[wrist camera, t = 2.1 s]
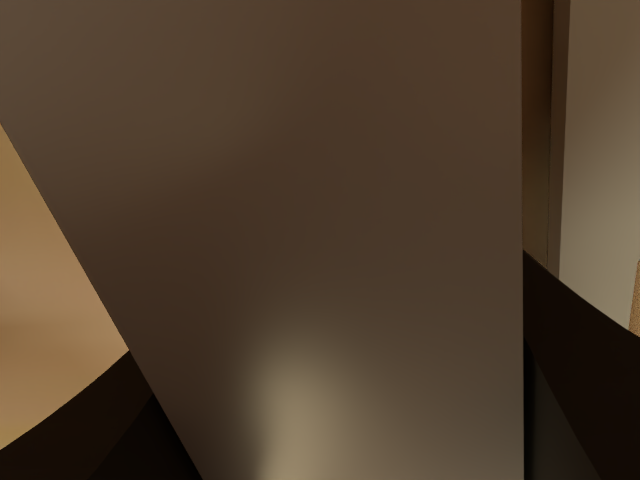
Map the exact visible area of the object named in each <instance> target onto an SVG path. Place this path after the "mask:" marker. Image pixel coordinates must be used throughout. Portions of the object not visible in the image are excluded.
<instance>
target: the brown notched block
mask: <svg viewBox="0 0 640 480" xmlns="http://www.w3.org/2000/svg"><path fill="white" fill-rule="evenodd" d="M0 123H1V125H2V127H3V129H4V130H5V132H6V134H7V136H8V137H9V139H10V141H11V143H12V144H13V146H14V148H15V150H16V152H17V153H18V155H19V157H20V159H21V160H22V162H23V164H24V166H25V167H26V169H27V171H28V173H29V174H30V176H31V178H32V180H33V181H34V183H35V185H36V187H37V188H38V190H39V192H40V194H41V196H42V197H43V199H44V201H45V203H46V204H47V206H48V208H49V210H50V211H51V213H52V215H53V217H54V218H55V220H56V222H57V224H58V225H59V227H60V229H61V231H62V232H63V234H64V236H65V238H66V240H67V241H68V243H69V245H70V247H71V248H72V250H73V252H74V254H75V255H76V257H77V259H78V261H79V262H80V264H81V266H82V268H83V269H84V271H85V273H86V275H87V277H88V278H89V280H90V282H91V284H92V285H93V287H94V289H95V291H96V292H97V294H98V296H99V298H100V299H101V301H102V303H103V305H104V306H105V308H106V310H107V312H108V313H109V315H110V317H111V319H112V321H113V322H114V324H115V326H116V328H117V329H118V331H119V333H120V335H121V336H122V338H123V340H124V342H125V343H126V345H127V347H128V349H129V350H130V352H131V354H132V356H133V358H134V359H135V361H136V363H137V365H138V366H139V368H140V370H141V372H142V373H143V375H144V377H145V379H146V380H147V382H148V384H149V386H150V387H151V389H152V391H153V393H154V394H155V396H156V398H157V400H158V402H159V403H160V405H161V407H162V409H163V410H164V412H165V414H166V416H167V417H168V419H169V421H170V423H171V424H172V426H173V428H174V430H175V431H176V433H177V435H178V437H179V438H180V440H181V442H182V444H183V446H184V447H185V449H186V451H187V453H188V454H189V456H190V458H191V460H192V461H193V463H194V465H195V467H196V468H197V470H198V472H199V474H200V475H201V477H202V479H203V480H524V425H523V246H522V67H521V0H0Z"/></svg>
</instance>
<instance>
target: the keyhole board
mask: <svg viewBox="0 0 640 480" xmlns="http://www.w3.org/2000/svg"><path fill="white" fill-rule="evenodd" d="M638 261H640V0H554V21H553V60H552V99H551V138H550V176H549V215H548V254H547V270H548V271H549V272H550V273H551V274H553V275H554V276H555V277H556V278H558V279H559V280H560V281H561V282H563V283H564V284H565V285H567V286H568V287H569V288H570V289H572V290H573V291H574V292H575V293H577V294H578V295H579V296H581V297H582V298H583V299H585V300H586V301H587V302H589V303H590V304H591V305H593V306H594V307H595V308H597V309H598V310H600V311H601V312H602V313H604V314H605V315H607V316H608V317H610V318H611V319H613V320H614V321H615V322H617V323H618V324H620V325H621V326H623V327H624V328H626V329H627V330H628V328H629V321H630V314H631V306H632V299H633V292H634V285H635V278H636V271H637V264H638Z"/></svg>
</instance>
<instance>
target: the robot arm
mask: <svg viewBox="0 0 640 480" xmlns="http://www.w3.org/2000/svg"><path fill="white" fill-rule="evenodd" d="M523 425H524V480H640V337H638V336H637V335H635V334H633V333H632V332H630V331H629V330H627V329H626V328H624V327H623V326H621V325H620V324H618V323H617V322H615V321H614V320H613V319H611V318H610V317H608V316H607V315H605V314H604V313H602V312H601V311H600V310H598V309H597V308H595V307H594V306H593V305H591V304H590V303H589V302H587V301H586V300H585V299H583V298H582V297H581V296H579V295H578V294H577V293H575V292H574V291H573V290H572V289H570V288H569V287H568V286H567V285H565V284H564V283H563V282H561V281H560V280H559V279H558V278H556V277H555V276H554V275H553V274H551V273H550V272H549V271H548V270H547V269H545V268H544V267H543V266H542V265H541V264H539V263H538V262H537V261H536V260H535V259H534V258H532V257H531V256H530V255H529V254H528V253H527V252H526V251H524V250H523ZM0 480H203V479H202V477H201V475H200V474H199V472H198V470H197V468H196V467H195V465H194V463H193V461H192V460H191V458H190V456H189V454H188V453H187V451H186V449H185V447H184V446H183V444H182V442H181V440H180V438H179V437H178V435H177V433H176V431H175V430H174V428H173V426H172V424H171V423H170V421H169V419H168V417H167V416H166V414H165V412H164V410H163V409H162V407H161V405H160V403H159V402H158V400H157V398H156V396H155V394H154V393H153V391H152V389H151V387H150V386H149V384H148V382H147V380H146V379H145V377H144V375H143V373H142V372H141V370H140V368H139V366H138V365H137V363H136V361H135V359H134V358H133V356H132V354H131V352H130V350H129V351H128V352H127V353H125V354H124V355H123V356H122V357H121V358H120V359H119V360H118V361H117V362H115V363H114V364H113V365H112V366H111V367H110V368H109V369H108V370H107V371H105V372H104V373H103V374H102V375H101V376H99V377H98V378H97V379H96V380H95V381H94V382H92V383H91V384H90V385H89V386H87V387H86V388H85V389H84V390H82V391H81V392H80V393H79V394H77V395H76V396H75V397H74V398H72V399H71V400H70V401H68V402H67V403H66V404H64V405H63V406H62V407H60V408H59V409H58V410H57V411H55V412H54V413H53V414H51V415H50V416H49V417H47V418H46V419H45V420H43V421H42V422H41V423H39V424H38V425H36V426H35V427H33V428H32V429H31V430H29V431H28V432H26V433H25V434H23V435H22V436H20V437H19V438H17V439H16V440H14V441H13V442H11V443H10V444H9V445H7V446H6V447H4V448H3V449H1V450H0Z"/></svg>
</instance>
